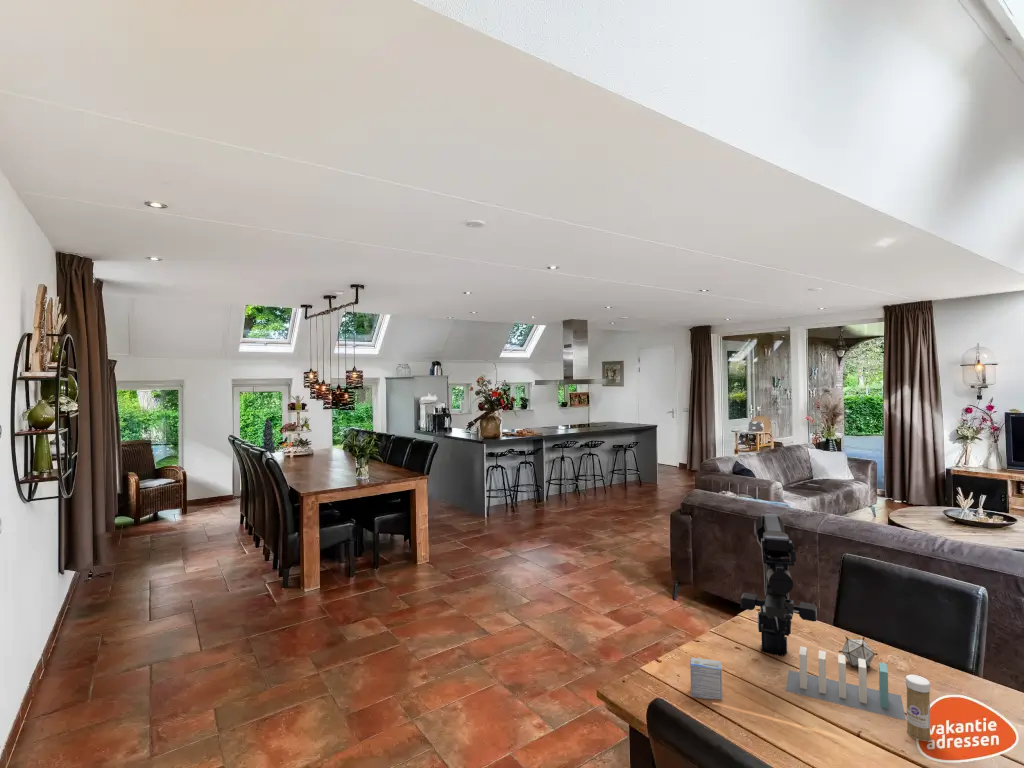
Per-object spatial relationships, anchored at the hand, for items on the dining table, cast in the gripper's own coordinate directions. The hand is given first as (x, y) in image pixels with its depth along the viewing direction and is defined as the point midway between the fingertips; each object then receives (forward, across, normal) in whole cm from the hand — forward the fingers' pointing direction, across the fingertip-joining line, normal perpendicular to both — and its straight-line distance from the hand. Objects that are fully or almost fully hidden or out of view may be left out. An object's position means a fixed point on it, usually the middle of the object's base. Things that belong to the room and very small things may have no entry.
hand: (778, 637), depth 150 cm
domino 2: (+11, +10, 0) cm, 15 cm away
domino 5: (+11, +24, 0) cm, 27 cm away
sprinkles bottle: (+12, +30, -11) cm, 34 cm away
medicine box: (+12, -16, -17) cm, 26 cm away
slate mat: (+12, +15, 0) cm, 19 cm away
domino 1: (+11, +6, 0) cm, 13 cm away
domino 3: (+11, +15, 0) cm, 19 cm away
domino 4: (+11, +20, 0) cm, 23 cm away
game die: (+12, +19, +19) cm, 30 cm away
